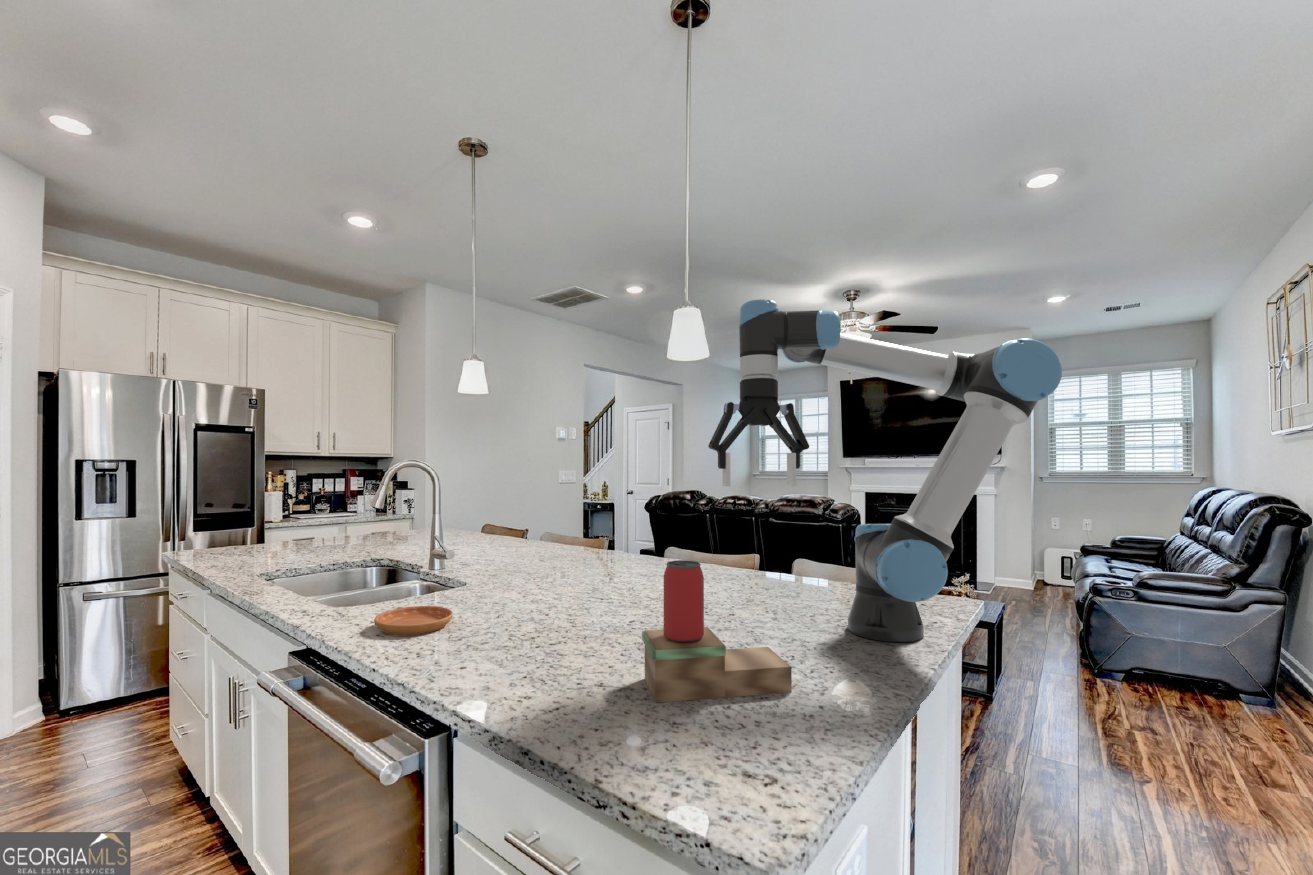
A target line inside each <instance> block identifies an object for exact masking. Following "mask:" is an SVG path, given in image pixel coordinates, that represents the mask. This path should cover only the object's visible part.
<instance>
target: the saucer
mask: <svg viewBox="0 0 1313 875" xmlns="http://www.w3.org/2000/svg"><path fill="white" fill-rule="evenodd" d="M453 612H454V611H453V610H451V609H449V608H446V607H443V606H436V605H435V606H434V605H423V606H422V605H421V606H419V605H417V606H415V605H414V606H407V607H399V608H394V609H391V610H386V611H384V612H380V613H379V614H377V615H376V616H375V617H374V619H373V620H374V625H375V627H376V628H378V629H379V630H380V631H381V632H382V633H384V634H386V635H389V636H398V637H406V636H407V637H408V636H409V637H410V636H418V635H425V634H428V633H429V634H430V633H433V632H437V631H440V630H441V629H443V628H444V627H445V626H446V625H447V624H449V622H450V621H451V620H452V618H453V615H454V613H453Z"/></svg>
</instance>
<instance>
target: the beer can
mask: <svg viewBox="0 0 1313 875" xmlns="http://www.w3.org/2000/svg"><path fill="white" fill-rule="evenodd" d="M701 565H702V564H701V563H700V562H699V561H695V560H687V559H686V560H671V561H668V562H667V563H666V568H665V570H664V573H663V629H664V636H665V637H666V638H667V639H668V640H671V641H674V642H681V643H687V642H694V641H698V640H700V639H701V638H702V637H703V635H704V627H705V609H704V608H705V605H704V604H705V597H704V596H705V595H704V594H705V593H704V592H705V590H704V589H705V588H704V586H705V578H704V572H703V571H702V568H701Z"/></svg>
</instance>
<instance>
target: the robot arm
mask: <svg viewBox="0 0 1313 875" xmlns="http://www.w3.org/2000/svg"><path fill="white" fill-rule="evenodd" d="M841 324H842V322H841V317H840V314H839V313H838V311H836V310H829V309H828V310H827V309H825V310H824V309H819V310H818V309H817V310H794V311H793V310H792V311H790V310H789V311H782V310H779V308H778V303H777V302H776V301H775V300H772V299H764V298H762V299H761V298H759V299H751V300H748V301H746V302H744V303H743V304H742V305H741V307H740V308H739V325H738V327H739V330H738V331H739V377H740V378H741V380H740V382H739V403H733V402H732V401H729V402H726V403H724V406H723V415H722V416H721V418H720V420H719V422H718V424H717V427H716V428H715V431H714V433H713V435H712V436H711V439H710V441H709V443H708V445H707V446H708V449H710V450H713V451H715V452H716V453H717V468H718V470H719V469H721V470H722V486H723V487H731V452H727V450H728V449H729V448H730V447H731V446H732V445H733V443H734V442H735V440H736V439H737V438H738V437H739V435H740V434H741V433H742V432H743V431H744V429H746V428H747V426H748V425H749V426H753V427H754V426H759V427H767V426H769V427H770V428H771V429H773V431H774V432H775V433H776V435H777V436H778V437H779V439H780V440H781V441H782V443H784V444H785V446H786V447H787V449H788V450H789V451H790V452H786V482H787V483H786V486H794V487H795V486H797V469H800V467H801V453H802V452H803V451H805V450H808V449H809V448H810V444H809V442H808V440H807V438H806V435H805V433H804V431H803V429H802V428H801V425H800V424H799V421H798V419H797V416H796V415H795V407H794V404H793V403H792V402H790V403H785V404H779V381H778V379H776V378H777V377H778V376H779V364H778V363H779V360H778V359H779V358H778V356H779V354H778V352H779V351H778V350H782V353H783V355H784V357H785V358H786V359H787V360H788V361H790V362H792V363H799V364H800V363H805V362H806V363H811V364H816V365H821V366H822V365H823V366H827V367H831V368H835V369H841V370H845V371H850V372H854V373H858V374H863V375H868V376H873V377H876V378H877V377H878V378H879V379H880V378H881V379H886V380H890V381H894V382H900V383H904V384H909V385H913V386H918V387H922V388H927V389H932V390H934V392H935V393H936V395H938V396H941V397H945V398H950V399H953V400H957V401H961V402H965V404H966V407H965V409H964V411H963V413H962V414H961V416H960V419H959V420H958V422H957V424H956V425H955V427H954V428H953V431H952V432H951V434H950V436H949V438H948V439H947V441H946V443H945V444H944V446H943V448H942V450H941V451H940V453H939V455H938V457H937V458H936V460H935V462H934V464H933V466H932V467H931V469H930V471H929V472H928V474H927V475H926V476H927V477H926V478H925V479H924V482H923V484H921V487H920V489H919V490H918V492H917V494H916V496H915V498H914V500H913V501H912V502H911V504H910V506H909V508H908V509H907V512H905V513H904V514H899V515H895V516H894V517H893V519H892V521H891V523H862V524H858V525H857V526H856V528H855V534H854V535H855V536H854V543H855V545H854V546H855V547H854V548H855V549H854V550H855V595H854V598H853V602H852V605H851V607H850V611H849V614H848V617H847V629H848V631H849V632H850V633H851V634H854V635H856V636H858V637H861V638H865V639H870V640H874V641H875V640H876V641H880V642H891V643H894V642H895V643H905V642H906V643H910V642H915V641H919V640H921V639H923V638H924V635H925V634H924V632H925V631H924V629H925V628H924V623H923V620H922V617H921V614H920V611H919V608H918V605H917V603H918V602H925V601H928V600H930V599H932V598H933V597H935V596H936V595H938V594H939V593H940V592H941V590H942V589H943V588H944V587H945V585H946V582H947V580H948V575H949V574H948V573H949V570H948V564H947V561H948V559H949V558H950V555H951V554H952V552H953V551H954V548H955V546H954V544H953V540H952V534H953V532H954V530H955V528H956V527H957V525H958V524H959V521H960V519H961V518H962V516H963V514H964V513H965V511H966V509H967V507H968V506H969V504H970V502H971V501H972V498H973V497H974V495H975V494H976V492H977V490H978V488H979V487H980V485H981V483H982V481H983V479H984V478H985V476H986V475H987V472H988V471H989V470H990V467H991V465H992V464H993V462H994V460H995V458H996V456H997V455H998V453H999V451H1000V450H1001V448H1002V447H1003V444H1004V442H1005V441H1006V439H1007V437H1008V435H1009V434H1010V432H1011V430H1012V428H1014V426H1016V425H1019V424H1023V423H1026V422H1027V421H1028V420H1029V418H1030V416H1031V414H1032V413H1033V410H1034V409H1035V407H1036V405H1037V403H1038V401H1041V400H1044V399H1046V398H1048V397H1049V396H1050V395H1052V394H1053V393H1054V392H1055V391H1056V390H1057V388H1058V387H1059V385H1060V383H1061V380H1062V375H1063V368H1062V363H1061V362H1060V360H1059V356H1058V354H1057V353H1056V352H1055V351H1054V350H1053V349H1052V348H1051V346H1049V345H1048V344H1046V343H1045V342H1042V341H1040V340H1038V339H1034V338H1019V339H1018V338H1017V339H1011V340H1008V341H1006V342H1003V343H1002V344H1000V345H999V346H996V347H994V348H991V349H988V350H986V351H983V352H978V353H961V352H956V351H949V352H947V353H946V354H943V353H938V352H932V351H928V350H923V349H918V348H915V347H914V348H913V347H909V346H903V345H899V344H895V343H890V342H885V341H880V340H876V339H870V338H866V337H862V336H857V335H852V334H847V333H842V332H841V331H842V327H841V326H842V325H841ZM737 411H738V413H739V414H740V415H741V417H740V418H739V420H738V421H737V422H736V424H735V426H734V427H733V428H732V429H731V431H730V432H729V433H728V434H727V435H726V437H725V438H724V439H723V436H724V434H725V432H726V430H727V428H728V426H729V424H730V422H731V419H732V417H733V415H735V414H736V413H737ZM779 412H780V413H781V415H783V417H784V419H785V422H786V424H787V425H788V428H789V430H790V433H791V434H792V435H791V434H790V433H789V432H788V430H787V429H786V427H785V426H784V424H783V423H782V421H781V420H780V419H779V418H778V414H779ZM792 436H793V437H792ZM722 439H723V440H722ZM721 440H722V441H721ZM720 442H721V443H720Z"/></svg>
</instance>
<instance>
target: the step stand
mask: <svg viewBox="0 0 1313 875" xmlns="http://www.w3.org/2000/svg"><path fill="white" fill-rule="evenodd" d="M641 640H642V642H643V644H644V680H645V682H646V685H647V687H648V689H649V691H650V693H651V696H652V698H653V701H654V702H655V703H669V702H683V701H696V700H707V699H720V698H721V699H723V698H733V697H734V698H735V697H748V696H759V695H772V694H773V695H774V694H775V695H776V694H786V693H787V694H788V693H792V690H793V689H792V688H793V687H792V683H793V682H792V679H793V678H792V666H791V665H790V664H789V663H788V662H787V661H785V659H783V658H782V657H781V656H780V655H779V654H778V653H776V652H775V651H773V650H772V648H770V647H768V646H761V647H745V648H744V647H743V648H728V649H727V647H726V645H725V643H723V642H722V641H721V640H720V639H719V637H717V635H716V634H715V633H714V632H713V631H712V630H711V629H710V628H709V627H708V626H704V635H703V637H702V638H701V639H700V640H698V641H694V642H687V643H681V642H674V641H671V640H668V639H667V638H666V637H665V636H664V628H663V629H646V630H641Z"/></svg>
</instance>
